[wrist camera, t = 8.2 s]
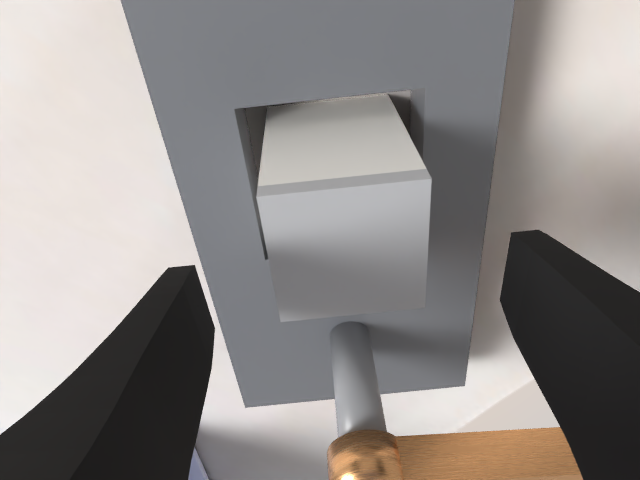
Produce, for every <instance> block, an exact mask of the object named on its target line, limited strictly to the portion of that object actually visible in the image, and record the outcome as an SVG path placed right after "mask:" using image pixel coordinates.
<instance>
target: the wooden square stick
mask: <svg viewBox="0 0 640 480" xmlns="http://www.w3.org/2000/svg"><path fill="white" fill-rule="evenodd" d="M327 460H328V476H329V480H583V478H582V475H581V473H580V470H579V468H578V465H577V463H576V461H575V458H574V456H573V453H572V451H571V448H570V446H569V444H568V442H567V440H566V438H565V435H564V433H563V431H562V429H561V427H556V428H538V429H520V430H502V431H485V432H467V433H449V434H431V435H413V436H394V435H392V434H390V433H388V432H385V431H380V430H359V431H354V432H350V433H347V434H345V435H342V436H341V437H339V438H337V439H336V440H335V441H333V442H332V443H331V445H330V446H329V448H328V451H327Z"/></svg>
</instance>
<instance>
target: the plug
mask: <svg viewBox="0 0 640 480" xmlns="http://www.w3.org/2000/svg"><path fill="white" fill-rule="evenodd" d="M431 183H432V178H431V176H430V174H429V172H428V171H427V169H426V167H425V165H424V163H423V161H422V159H421V157H420V155H419V153H418V151H417V149H416V147H415V145H414V143H413V142H412V140H411V138H410V136H409V134H408V132H407V130H406V128H405V126H404V124H403V122H402V120H401V118H400V116H399V114H398V112H397V111H396V109H395V107H394V105H393V103H392V101H391V99H390V97H389V95H388V94H384V95H374V96H365V97H355V98H346V99H336V100H327V101H317V102H308V103H298V104H289V105H279V106H270V107H268V108H267V116H266V124H265V132H264V139H263V147H262V155H261V163H260V171H259V179H258V187H257V195H256V198H257V203H258V208H259V213H260V219H261V224H262V229H263V234H264V239H265V244H266V249H267V255H268V260H269V265H270V270H271V275H272V280H273V285H274V291H275V296H276V301H277V306H278V311H279V316H280V321H281V322H287V321H297V320H307V319H317V318H327V317H337V316H347V315H357V314H367V313H377V312H387V311H397V310H407V309H417V308H425V300H426V280H427V261H428V241H429V222H430V202H431Z"/></svg>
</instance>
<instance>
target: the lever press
mask: <svg viewBox="0 0 640 480" xmlns="http://www.w3.org/2000/svg"><path fill="white" fill-rule="evenodd" d="M514 1H515V0H121V3H122V6H123V9H124V13H125V16H126V19H127V22H128V26H129V29H130V32H131V35H132V39H133V42H134V45H135V48H136V52H137V55H138V58H139V62H140V65H141V68H142V71H143V75H144V78H145V81H146V84H147V88H148V91H149V94H150V98H151V101H152V104H153V107H154V111H155V114H156V117H157V120H158V124H159V127H160V130H161V133H162V137H163V140H164V143H165V147H166V150H167V153H168V156H169V160H170V163H171V166H172V169H173V173H174V176H175V179H176V182H177V186H178V189H179V192H180V196H181V199H182V202H183V205H184V209H185V212H186V215H187V218H188V222H189V225H190V228H191V232H192V235H193V238H194V241H195V245H196V248H197V251H198V254H199V258H200V261H201V264H202V267H203V271H204V274H205V277H206V281H207V284H208V287H209V290H210V294H211V297H212V300H213V303H214V307H215V310H216V313H217V316H218V320H219V323H220V326H221V330H222V333H223V336H224V339H225V343H226V346H227V349H228V352H229V356H230V359H231V362H232V366H233V369H234V372H235V375H236V379H237V382H238V385H239V388H240V392H241V395H242V398H243V401H244V405H245V408H247V407H257V406H267V405H277V404H287V403H297V402H307V401H317V400H328V399H335V404H336V416H337V428H338V438H339V437H341V436H342V435H345V434H347V433H350V432H354V431H359V430H380V431H385V432H387V430H386V425H385V419H384V414H383V408H382V402H381V397H380V394H388V393H398V392H408V391H419V390H429V389H439V388H449V387H459V386H465V380H466V372H467V365H468V357H469V349H470V342H471V334H472V326H473V318H474V311H475V303H476V295H477V287H478V280H479V272H480V264H481V257H482V249H483V241H484V233H485V226H486V218H487V210H488V202H489V195H490V187H491V179H492V172H493V164H494V156H495V148H496V141H497V133H498V125H499V117H500V110H501V102H502V94H503V86H504V79H505V71H506V63H507V56H508V48H509V40H510V32H511V25H512V17H513V9H514ZM403 90H411V105H410V138H411V140H412V142H413V143H414V145H415V147H416V149H417V151H418V153H419V155H420V157H421V159H422V161H423V163H424V165H425V167H426V169H427V171H428V172H429V174H430V176H431V178H432V183H431V202H430V222H429V241H428V261H427V280H426V300H425V308H417V309H407V310H397V311H387V312H377V313H367V314H357V315H347V316H337V317H327V318H317V319H307V320H297V321H287V322H281V321H280V316H279V311H278V306H277V301H276V296H275V291H274V285H273V280H272V275H271V270H270V265H269V260H268V255H267V249H266V244H265V239H264V234H263V229H262V224H261V219H260V213H259V208H258V203H257V198H256V195H257V187H258V176H257V171H256V166H255V160H254V155H253V150H252V145H251V139H250V134H249V129H248V124H247V119H246V113H245V108H248V107H257V106H266V105H275V104H284V103H293V102H302V101H311V100H321V99H330V98H339V97H348V96H357V95H366V94H375V93H384V92H393V91H403Z"/></svg>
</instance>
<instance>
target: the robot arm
mask: <svg viewBox="0 0 640 480" xmlns="http://www.w3.org/2000/svg"><path fill="white" fill-rule="evenodd" d="M500 302H501V305H502V308H503V311H504V313H505V316H506V319H507V322H508V325H509V327H510V330H511V332H512V335H513V338H514V340H515V342H516V344H517V346H518V348H519V350H520V352H521V353H522V355H523V357H524V359H525V361H526V363H527V365H528V367H529V369H530V371H531V373H532V374H533V376H534V378H535V380H536V382H537V384H538V386H539V388H540V389H541V391H542V393H543V395H544V397H545V399H546V401H547V402H548V404H549V406H550V408H551V410H552V412H553V414H554V416H555V417H556V419H557V421H558V423H559V425H560V427H561V429H562V431H563V433H564V435H565V438H566V440H567V442H568V444H569V446H570V448H571V451H572V453H573V456H574V458H575V461H576V463H577V465H578V468H579V470H580V473H581V475H582V478H583V480H640V292H638V291H637V290H635V289H633V288H631V287H630V286H628V285H626V284H625V283H623V282H621V281H620V280H618V279H617V278H615V277H613V276H612V275H610V274H609V273H607V272H605V271H604V270H602V269H601V268H599V267H597V266H596V265H594V264H593V263H591V262H589V261H588V260H586V259H585V258H583V257H582V256H580V255H579V254H577V253H575V252H574V251H572V250H571V249H569V248H568V247H566V246H565V245H563V244H561V243H560V242H558V241H557V240H555V239H553V238H552V237H550V236H549V235H547V234H545V233H543V232H542V231H540V230H532V231H522V232H512V233H511V238H510V243H509V249H508V255H507V261H506V267H505V273H504V278H503V284H502V290H501V296H500ZM214 333H215V327H214V324H213V321H212V318H211V315H210V312H209V309H208V305H207V302H206V299H205V296H204V293H203V290H202V287H201V283H200V280H199V277H198V274H197V271H196V268H195V265H190V266H181V267H171V268H168V269H167V270H166V271H165V272H164V273H163V274H162V275H161V277H160V278H159V279H158V280H157V281H156V282H155V284H154V285H153V286H152V287H151V288H150V289H149V291H148V292H147V293H146V294H145V295H144V296H143V298H142V299H141V300H140V301H139V302H138V303H137V305H136V306H135V307H134V308H133V309H132V310H131V312H130V313H129V314H128V315H127V316H126V317H125V318H124V319H123V321H122V322H121V323H120V324H119V325H118V326H117V327H116V329H115V330H114V331H113V332H112V333H111V334H110V335H109V336H108V337H107V338H106V339H105V340H104V341H103V342H102V343H101V344H100V345H99V346H98V347H97V348H96V349H95V351H94V352H93V353H92V354H91V355H90V356H89V357H88V358H87V359H86V360H85V361H84V362H83V363H82V364H81V365H80V366H79V367H78V368H77V369H76V370H75V371H74V372H73V373H72V374H71V375H70V376H69V377H68V378H67V379H66V380H64V381H63V382H62V383H61V384H60V385H59V386H58V387H57V388H56V389H55V390H54V391H52V392H51V393H50V394H49V395H48V396H47V397H46V398H44V399H43V400H42V401H41V402H40V403H39V404H38V405H36V406H35V407H34V408H33V409H32V410H31V411H29V412H28V413H27V414H26V415H25V416H23V417H22V418H21V419H20V420H18V421H17V422H16V423H15V424H13V425H12V426H11V427H9V428H8V429H7V430H6V431H4V432H3V433H2V434H1V435H0V480H209V478H208V476H207V474H206V472H205V469H204V467H203V465H202V463H201V460H200V458H199V456H198V454H197V451H196V449H195V442H196V438H197V433H198V428H199V424H200V419H201V415H202V410H203V406H204V401H205V397H206V392H207V387H208V383H209V378H210V373H211V368H212V358H213V346H214Z"/></svg>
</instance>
